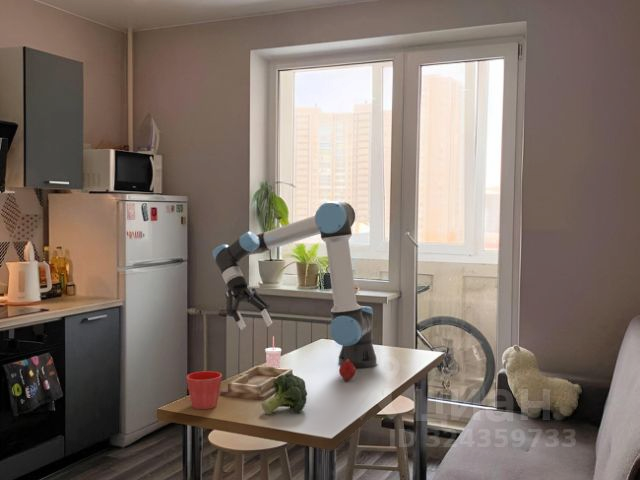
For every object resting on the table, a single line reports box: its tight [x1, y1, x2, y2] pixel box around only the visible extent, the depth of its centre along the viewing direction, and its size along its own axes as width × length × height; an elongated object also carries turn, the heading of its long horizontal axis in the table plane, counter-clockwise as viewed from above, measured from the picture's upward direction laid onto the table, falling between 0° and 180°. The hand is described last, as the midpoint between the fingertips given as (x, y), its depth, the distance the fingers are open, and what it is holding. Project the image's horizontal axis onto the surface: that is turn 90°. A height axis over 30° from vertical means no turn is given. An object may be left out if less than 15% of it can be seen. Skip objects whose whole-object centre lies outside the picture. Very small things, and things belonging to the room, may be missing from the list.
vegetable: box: [261, 372, 308, 415], centre depth 203 cm, size 12×13×15 cm
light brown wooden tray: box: [219, 365, 293, 401], centre depth 229 cm, size 16×26×4 cm, turn 160°
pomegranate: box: [338, 359, 356, 382], centre depth 238 cm, size 6×6×8 cm
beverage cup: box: [264, 335, 282, 368], centre depth 247 cm, size 6×6×14 cm
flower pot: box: [186, 370, 223, 410], centre depth 208 cm, size 11×11×10 cm
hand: (257, 326), depth 252 cm, fingers open, 13 cm apart
